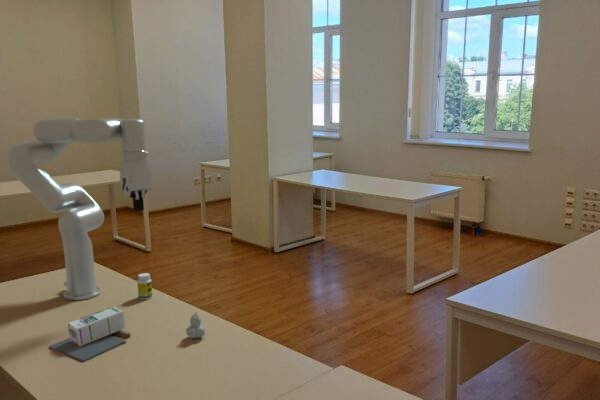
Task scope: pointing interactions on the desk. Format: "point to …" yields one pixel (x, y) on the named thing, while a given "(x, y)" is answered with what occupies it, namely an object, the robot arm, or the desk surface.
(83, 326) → the syrup box
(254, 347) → the desk surface
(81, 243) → the robot arm
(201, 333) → the white irregular lump
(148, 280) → the supplement bottle
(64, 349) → the mat
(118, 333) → the strip
